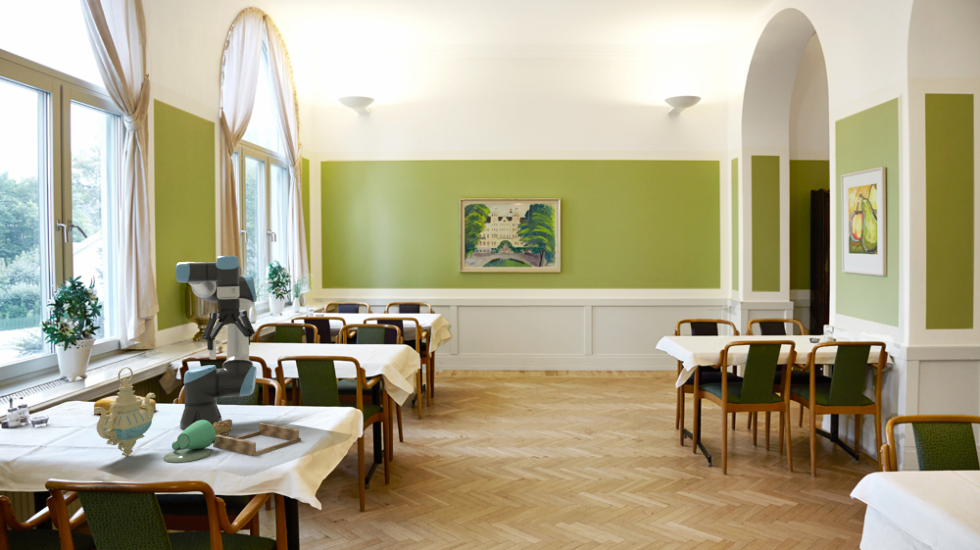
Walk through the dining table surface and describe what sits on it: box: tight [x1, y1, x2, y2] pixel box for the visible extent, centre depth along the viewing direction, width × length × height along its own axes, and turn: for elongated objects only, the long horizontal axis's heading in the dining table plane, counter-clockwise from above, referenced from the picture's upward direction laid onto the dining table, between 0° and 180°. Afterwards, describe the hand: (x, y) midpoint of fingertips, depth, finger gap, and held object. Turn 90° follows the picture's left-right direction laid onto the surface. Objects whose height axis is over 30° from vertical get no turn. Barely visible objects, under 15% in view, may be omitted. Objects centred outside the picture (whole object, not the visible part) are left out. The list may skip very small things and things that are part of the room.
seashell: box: [213, 418, 233, 441], centre depth 227 cm, size 9×8×10 cm
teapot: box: [93, 367, 156, 457], centre depth 206 cm, size 24×12×30 cm, turn 167°
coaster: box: [163, 448, 211, 464], centre depth 205 cm, size 14×14×1 cm
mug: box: [171, 420, 215, 451], centre depth 210 cm, size 15×10×10 cm
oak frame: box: [212, 422, 302, 457], centre depth 219 cm, size 22×20×4 cm
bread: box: [93, 395, 157, 415], centre depth 267 cm, size 13×26×8 cm, turn 82°
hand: (229, 356), depth 223 cm, fingers open, 13 cm apart
